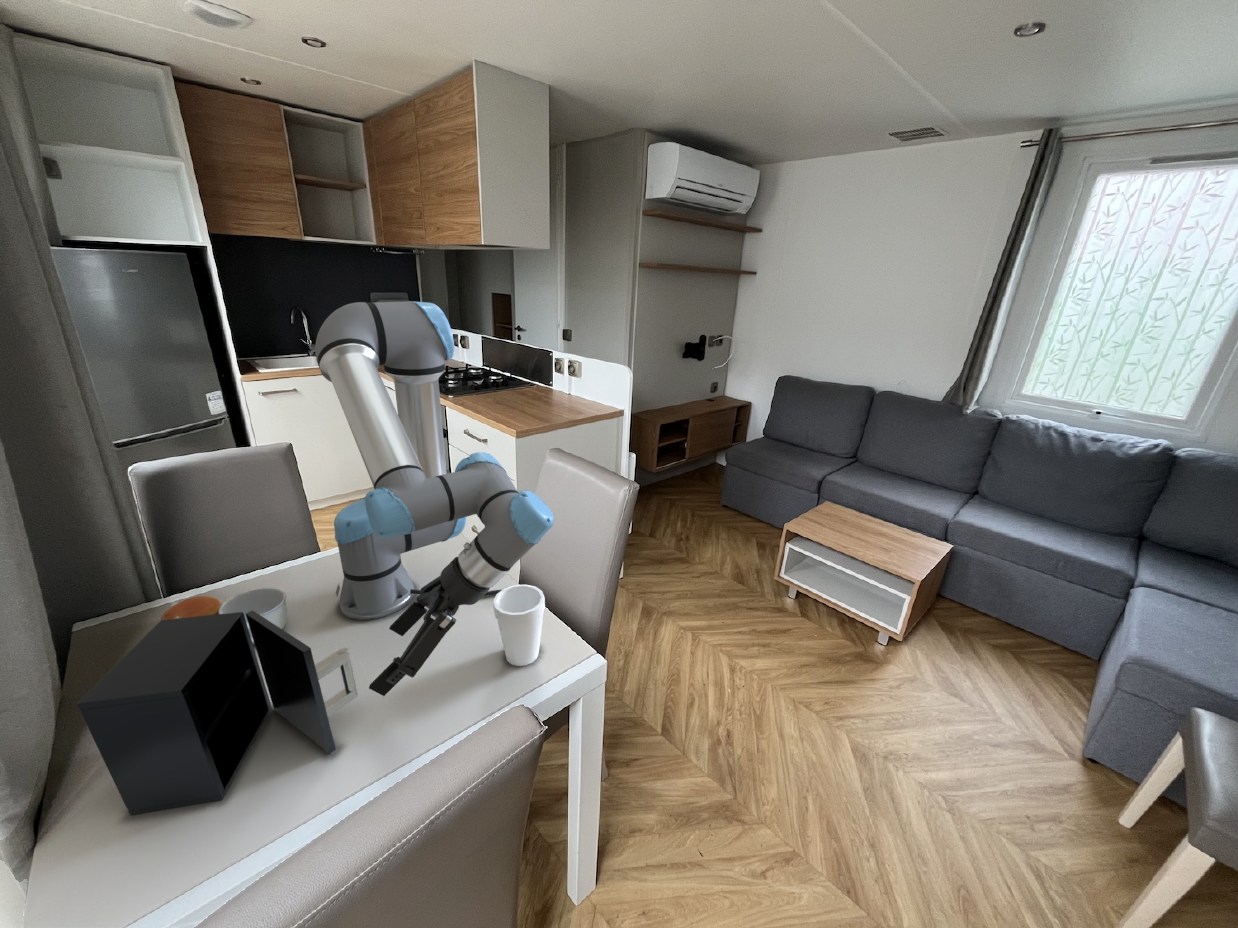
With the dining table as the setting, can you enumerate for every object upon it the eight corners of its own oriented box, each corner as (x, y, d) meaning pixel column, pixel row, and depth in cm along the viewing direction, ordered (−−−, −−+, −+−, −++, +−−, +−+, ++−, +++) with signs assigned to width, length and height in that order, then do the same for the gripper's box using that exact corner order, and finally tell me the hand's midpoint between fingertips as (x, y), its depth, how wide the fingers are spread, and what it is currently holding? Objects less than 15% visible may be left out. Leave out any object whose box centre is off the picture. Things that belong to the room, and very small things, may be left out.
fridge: (272, 709, 84) (243, 611, 77) (222, 800, 69) (180, 690, 62) (198, 719, 81) (161, 619, 74) (130, 816, 67) (76, 703, 60)
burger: (230, 604, 109) (224, 587, 108) (218, 630, 102) (212, 612, 100) (174, 616, 105) (167, 598, 104) (157, 644, 98) (150, 625, 96)
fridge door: (314, 683, 89) (291, 591, 82) (370, 722, 81) (349, 624, 74) (274, 709, 83) (245, 613, 76) (329, 754, 76) (303, 651, 69)
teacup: (250, 618, 105) (241, 586, 103) (303, 616, 106) (295, 584, 104) (204, 665, 92) (192, 631, 90) (265, 663, 93) (255, 628, 91)
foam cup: (556, 654, 97) (554, 599, 93) (517, 679, 91) (513, 621, 86) (526, 631, 103) (523, 578, 99) (488, 654, 97) (483, 598, 92)
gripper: (462, 522, 89) (385, 600, 91) (445, 607, 66) (343, 709, 68) (495, 545, 91) (419, 621, 94) (489, 635, 69) (389, 732, 71)
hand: (387, 658), depth 81 cm, fingers open, 13 cm apart
